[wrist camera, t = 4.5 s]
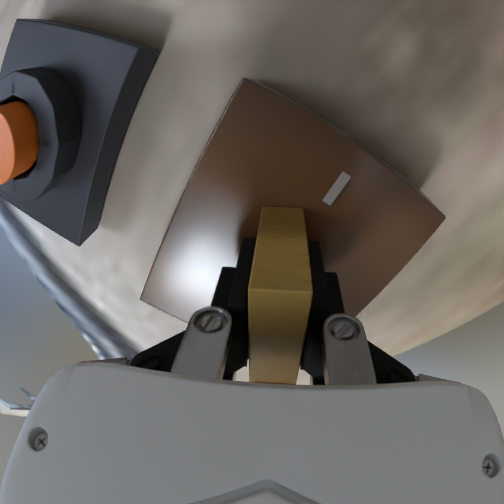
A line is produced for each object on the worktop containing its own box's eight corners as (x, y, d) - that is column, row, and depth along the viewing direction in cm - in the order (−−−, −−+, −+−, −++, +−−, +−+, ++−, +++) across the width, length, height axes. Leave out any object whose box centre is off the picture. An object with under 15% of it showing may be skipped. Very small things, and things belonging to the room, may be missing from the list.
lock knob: (262, 205, 11) (246, 295, 7) (303, 207, 11) (313, 299, 7) (260, 310, 14) (248, 404, 10) (293, 312, 14) (292, 407, 10)
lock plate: (251, 77, 11) (242, 76, 9) (421, 191, 13) (448, 219, 11) (157, 267, 18) (138, 302, 15) (296, 333, 19) (296, 371, 17)
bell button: (3, 93, 8) (-22, 101, 7) (47, 112, 9) (19, 121, 8) (-5, 157, 10) (-28, 169, 9) (34, 182, 11) (11, 197, 10)
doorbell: (41, 19, 9) (-7, 19, 6) (161, 50, 11) (118, 44, 7) (6, 174, 15) (-32, 198, 11) (97, 228, 16) (62, 265, 13)
